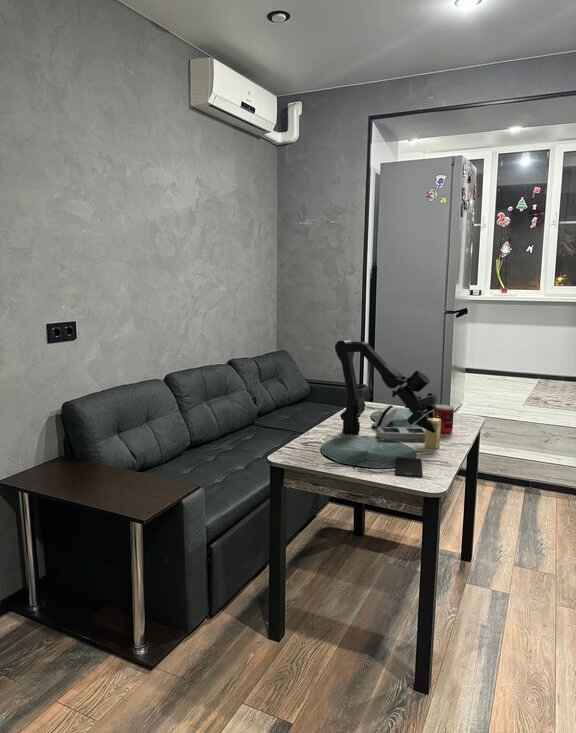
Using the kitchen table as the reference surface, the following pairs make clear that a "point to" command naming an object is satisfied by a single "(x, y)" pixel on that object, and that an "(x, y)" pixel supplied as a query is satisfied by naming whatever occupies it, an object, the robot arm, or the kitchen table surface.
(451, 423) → the canned food
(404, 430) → the grey cinder block
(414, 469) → the cell phone
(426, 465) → the kitchen table surface
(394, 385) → the robot arm
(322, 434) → the kitchen table surface
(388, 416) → the game console
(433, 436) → the tan tall block
